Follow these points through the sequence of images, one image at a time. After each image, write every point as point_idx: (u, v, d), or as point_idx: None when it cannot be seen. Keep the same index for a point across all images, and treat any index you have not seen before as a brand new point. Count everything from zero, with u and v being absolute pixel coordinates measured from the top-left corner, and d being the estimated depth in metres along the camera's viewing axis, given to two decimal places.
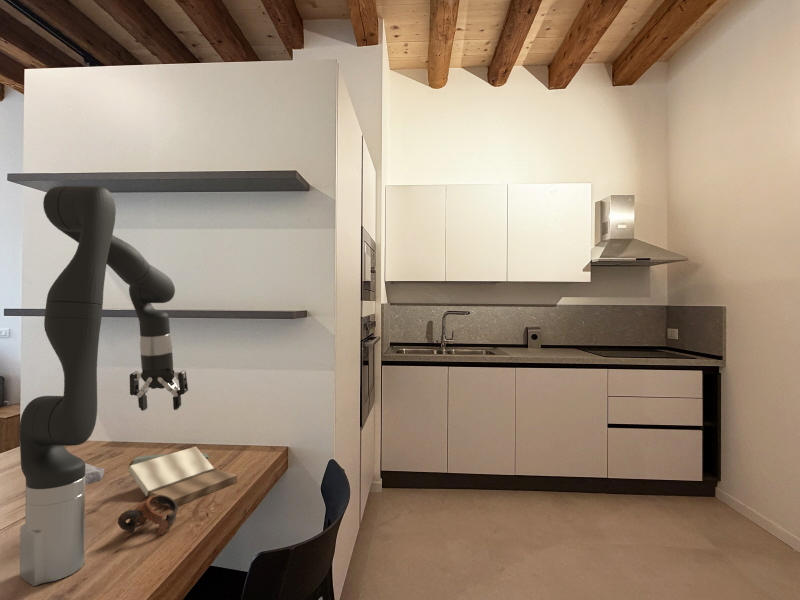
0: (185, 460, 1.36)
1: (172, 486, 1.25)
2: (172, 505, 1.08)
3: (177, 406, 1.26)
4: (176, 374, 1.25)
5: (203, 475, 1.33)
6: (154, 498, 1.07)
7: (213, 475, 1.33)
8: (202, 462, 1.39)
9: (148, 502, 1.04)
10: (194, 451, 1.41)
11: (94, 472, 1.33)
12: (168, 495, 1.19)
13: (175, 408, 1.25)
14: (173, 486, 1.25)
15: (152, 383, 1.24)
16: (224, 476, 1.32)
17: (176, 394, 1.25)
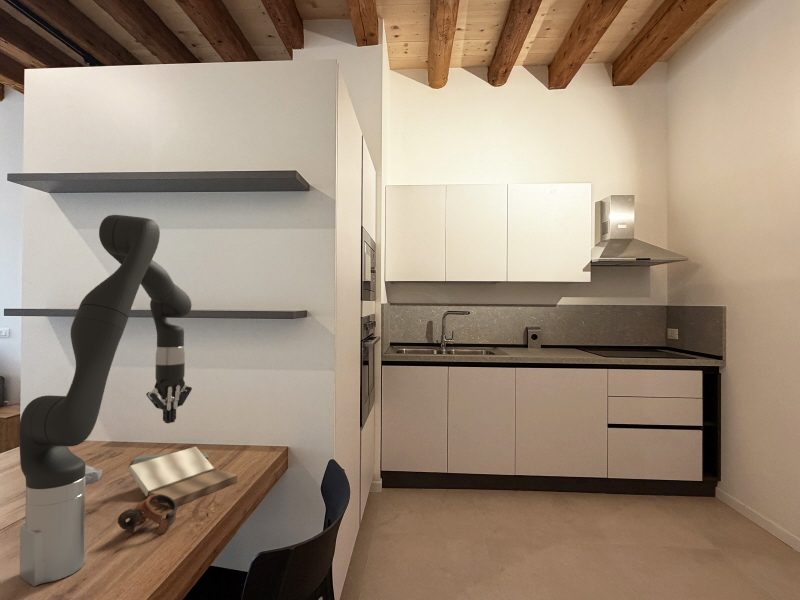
0: (185, 460, 1.36)
1: (172, 486, 1.25)
2: (172, 504, 1.08)
3: (174, 418, 1.34)
4: (185, 386, 1.38)
5: (203, 475, 1.33)
6: (154, 497, 1.07)
7: (213, 475, 1.33)
8: (202, 462, 1.39)
9: (148, 501, 1.04)
10: (194, 451, 1.41)
11: (92, 473, 1.32)
12: (168, 495, 1.19)
13: (173, 420, 1.34)
14: (173, 486, 1.25)
15: None
16: (224, 476, 1.32)
17: (176, 406, 1.34)
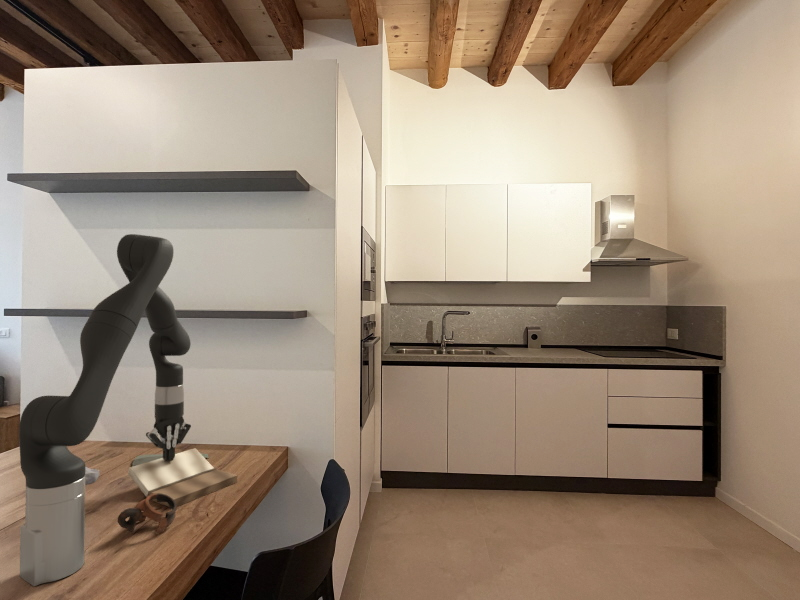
0: (184, 461, 1.37)
1: (172, 486, 1.25)
2: (171, 503, 1.09)
3: (173, 456, 1.34)
4: (184, 424, 1.38)
5: (203, 475, 1.33)
6: (153, 496, 1.07)
7: (213, 475, 1.33)
8: (202, 463, 1.39)
9: (147, 500, 1.05)
10: (193, 452, 1.41)
11: (89, 473, 1.32)
12: (168, 495, 1.19)
13: (172, 459, 1.34)
14: (173, 486, 1.25)
15: None
16: (224, 476, 1.32)
17: (175, 444, 1.34)
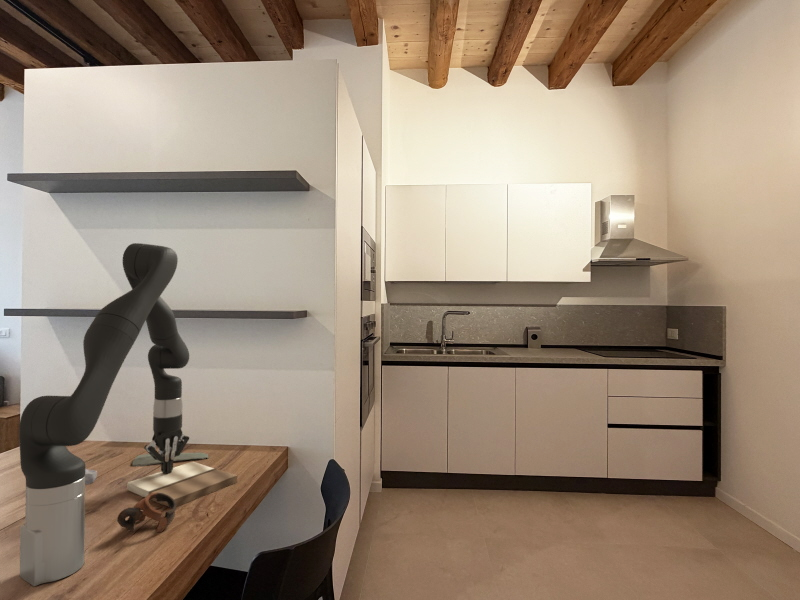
0: (183, 469, 1.37)
1: (172, 486, 1.25)
2: (171, 503, 1.09)
3: (171, 469, 1.35)
4: (183, 436, 1.38)
5: (203, 475, 1.33)
6: (153, 496, 1.08)
7: (213, 475, 1.33)
8: (201, 467, 1.39)
9: (147, 500, 1.05)
10: (191, 464, 1.42)
11: (87, 474, 1.31)
12: None
13: (170, 471, 1.34)
14: (173, 486, 1.25)
15: None
16: (224, 476, 1.32)
17: (173, 457, 1.35)
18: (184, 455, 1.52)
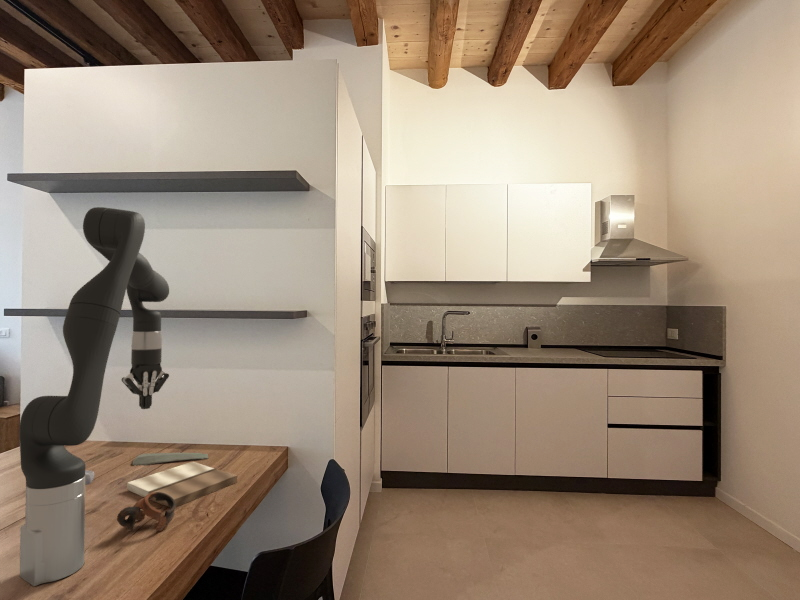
0: (183, 469, 1.37)
1: (172, 486, 1.25)
2: (170, 502, 1.10)
3: (150, 404, 1.32)
4: (162, 373, 1.36)
5: (203, 475, 1.33)
6: (152, 495, 1.08)
7: (213, 475, 1.33)
8: (201, 467, 1.39)
9: (147, 499, 1.05)
10: (191, 464, 1.42)
11: None
12: None
13: (149, 406, 1.32)
14: (173, 486, 1.25)
15: None
16: (224, 476, 1.32)
17: (152, 392, 1.32)
18: (184, 455, 1.52)
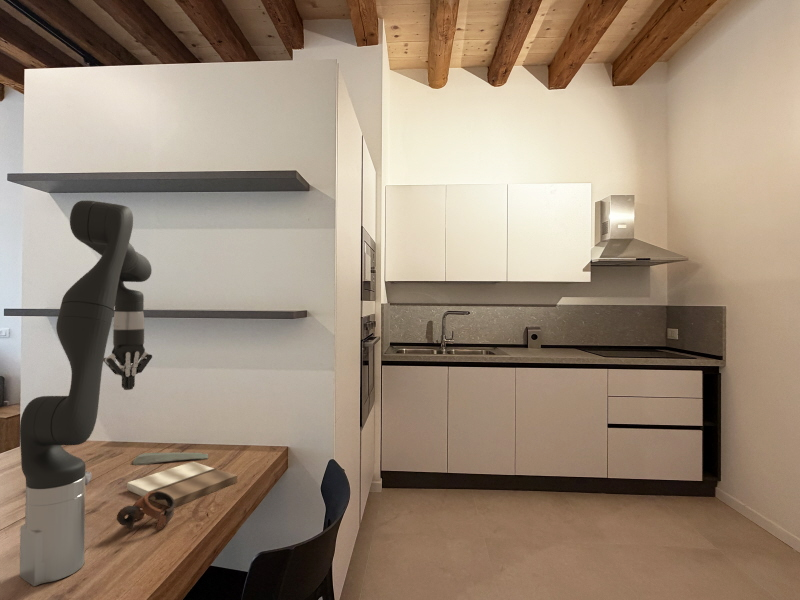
0: (183, 469, 1.37)
1: (172, 486, 1.25)
2: (169, 501, 1.10)
3: (133, 385, 1.31)
4: (145, 353, 1.34)
5: (203, 475, 1.33)
6: (152, 494, 1.09)
7: (213, 475, 1.33)
8: (201, 467, 1.39)
9: (146, 498, 1.06)
10: (191, 464, 1.42)
11: None
12: None
13: (132, 387, 1.30)
14: (173, 486, 1.25)
15: (129, 357, 1.30)
16: (224, 476, 1.32)
17: (134, 373, 1.31)
18: (184, 455, 1.52)
